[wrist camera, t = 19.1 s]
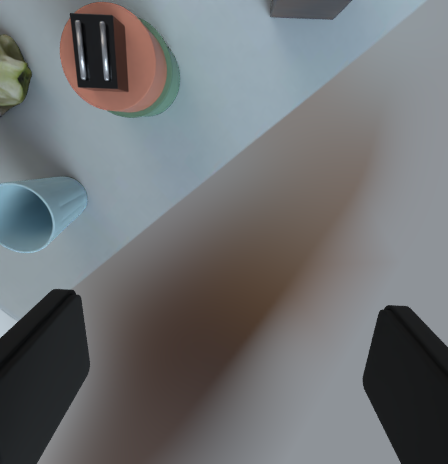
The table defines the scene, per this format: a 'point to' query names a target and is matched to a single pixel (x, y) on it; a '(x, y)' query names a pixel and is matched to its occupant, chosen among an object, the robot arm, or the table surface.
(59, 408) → the robot arm
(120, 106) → the cup stack
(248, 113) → the table surface
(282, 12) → the clip stand
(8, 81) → the fruit
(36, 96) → the table surface
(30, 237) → the cup
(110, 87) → the clip
